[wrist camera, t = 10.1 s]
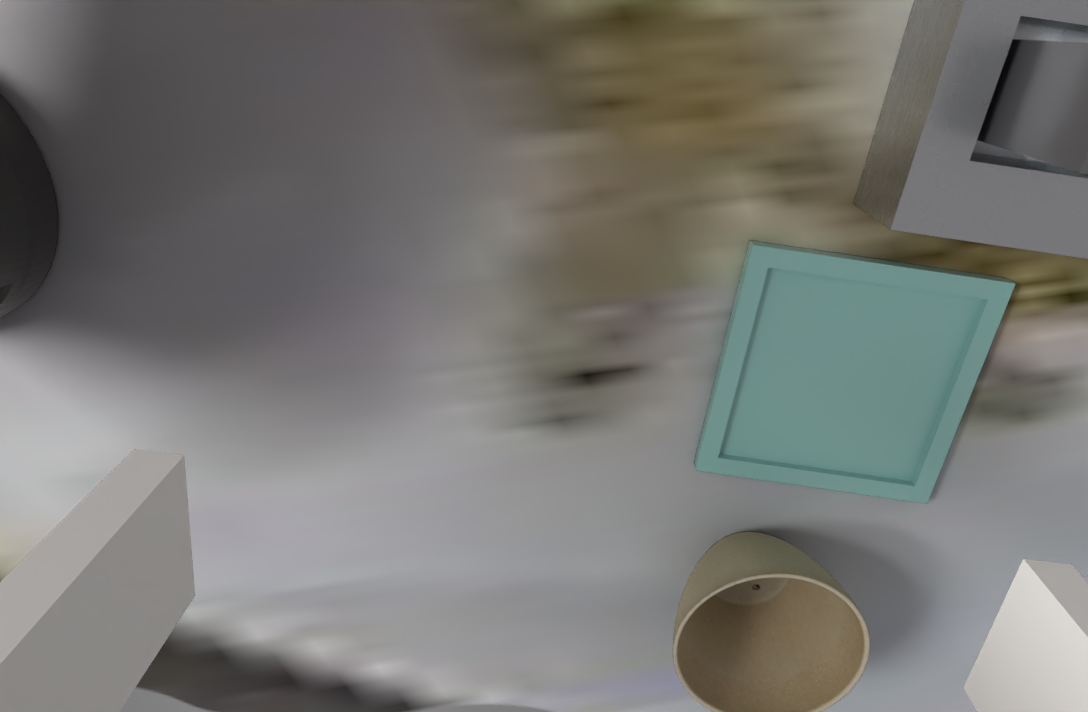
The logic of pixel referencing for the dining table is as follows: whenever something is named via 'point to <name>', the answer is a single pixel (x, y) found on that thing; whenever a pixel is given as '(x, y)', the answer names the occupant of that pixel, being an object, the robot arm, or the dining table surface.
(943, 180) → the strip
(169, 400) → the dining table surface
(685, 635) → the flower pot
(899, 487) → the tray
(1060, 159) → the plug
